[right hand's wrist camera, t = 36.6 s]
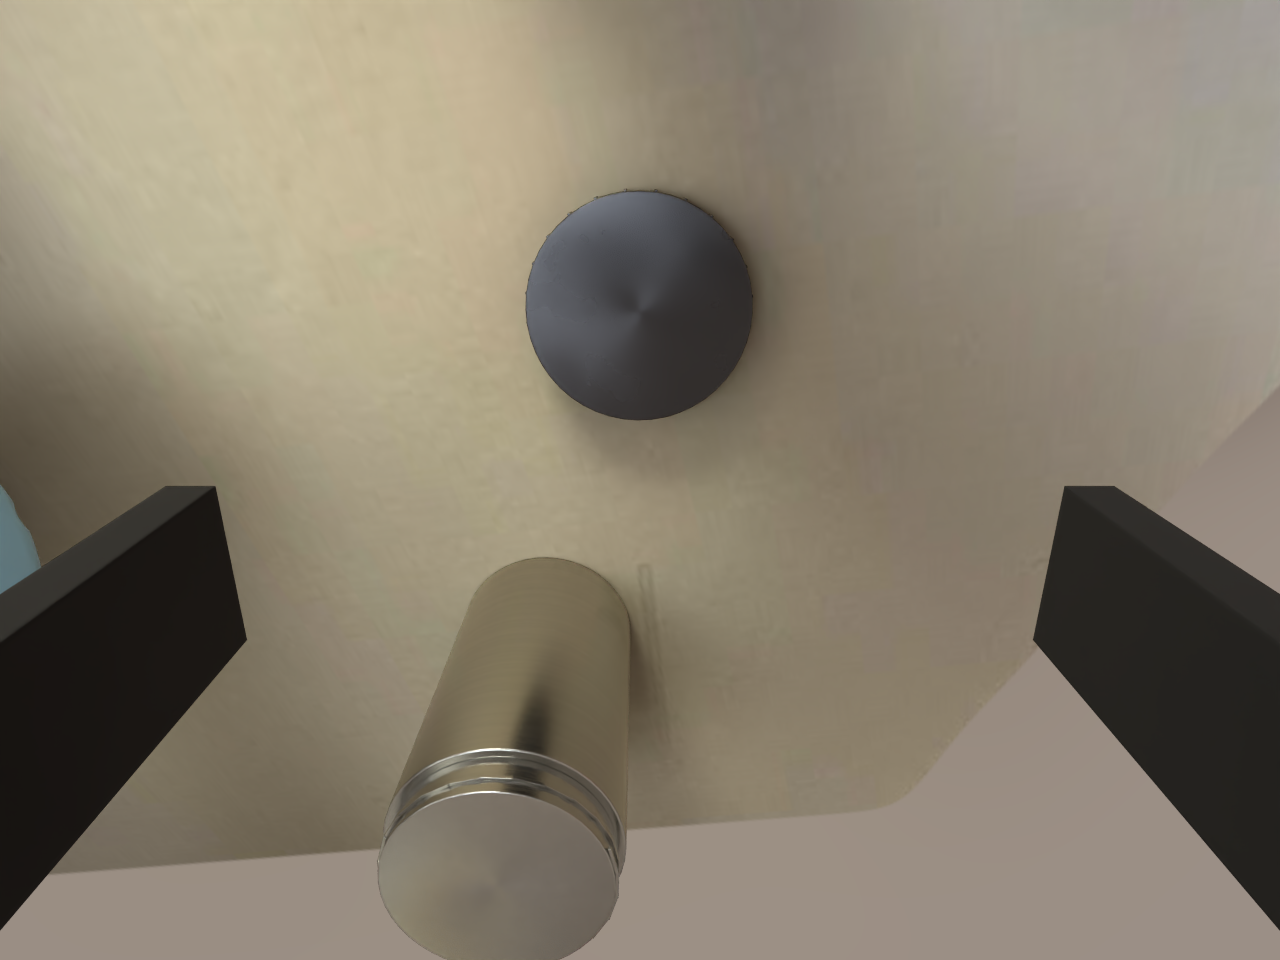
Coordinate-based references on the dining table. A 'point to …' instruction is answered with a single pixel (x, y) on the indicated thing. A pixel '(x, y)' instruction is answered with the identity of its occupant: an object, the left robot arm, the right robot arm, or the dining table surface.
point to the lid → (639, 305)
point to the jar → (517, 774)
